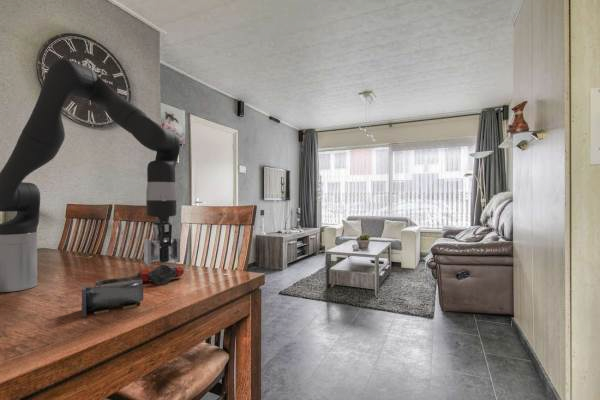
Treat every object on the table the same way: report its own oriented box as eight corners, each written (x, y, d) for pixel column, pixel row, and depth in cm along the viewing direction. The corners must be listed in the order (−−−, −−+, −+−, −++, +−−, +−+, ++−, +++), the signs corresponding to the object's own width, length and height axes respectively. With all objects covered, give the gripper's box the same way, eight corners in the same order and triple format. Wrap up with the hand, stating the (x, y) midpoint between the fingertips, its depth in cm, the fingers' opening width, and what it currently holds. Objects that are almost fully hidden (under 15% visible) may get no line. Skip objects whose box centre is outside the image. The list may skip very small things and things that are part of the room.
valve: (184, 277, 112) (184, 282, 98) (104, 288, 102) (91, 295, 89) (183, 260, 113) (183, 262, 99) (104, 270, 103) (91, 273, 89)
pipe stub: (81, 317, 68) (81, 290, 68) (82, 309, 74) (82, 283, 74) (143, 306, 76) (143, 281, 76) (140, 299, 81) (140, 276, 81)
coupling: (174, 258, 86) (174, 236, 86) (180, 262, 81) (180, 238, 81) (144, 261, 82) (144, 238, 82) (147, 265, 76) (147, 241, 76)
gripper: (142, 199, 85) (143, 257, 85) (150, 198, 73) (151, 266, 73) (170, 199, 89) (170, 254, 89) (182, 198, 78) (182, 262, 78)
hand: (161, 259), depth 81 cm, fingers closed on coupling, 5 cm apart
